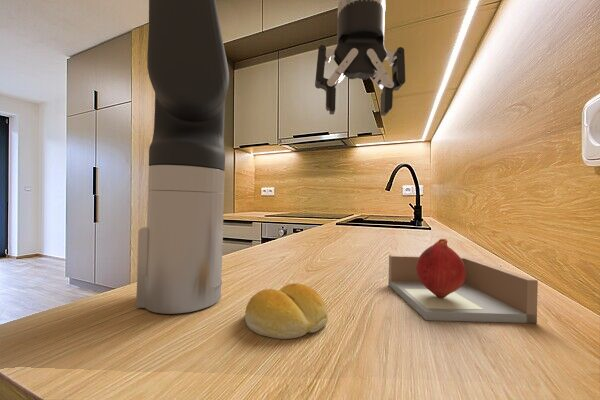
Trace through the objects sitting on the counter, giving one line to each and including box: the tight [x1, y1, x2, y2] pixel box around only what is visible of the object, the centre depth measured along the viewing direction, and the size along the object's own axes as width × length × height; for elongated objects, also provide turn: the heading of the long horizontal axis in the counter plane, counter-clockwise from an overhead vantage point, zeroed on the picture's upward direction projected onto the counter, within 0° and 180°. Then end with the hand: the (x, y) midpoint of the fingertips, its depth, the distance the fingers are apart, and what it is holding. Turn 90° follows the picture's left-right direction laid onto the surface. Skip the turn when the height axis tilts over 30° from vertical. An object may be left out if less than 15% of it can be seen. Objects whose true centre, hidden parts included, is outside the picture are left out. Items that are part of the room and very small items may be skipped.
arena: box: [387, 254, 539, 324], centre depth 37 cm, size 13×13×5 cm
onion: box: [416, 237, 466, 298], centre depth 35 cm, size 6×6×8 cm
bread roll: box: [244, 283, 329, 340], centre depth 29 cm, size 8×9×4 cm
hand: (358, 113), depth 43 cm, fingers open, 8 cm apart
